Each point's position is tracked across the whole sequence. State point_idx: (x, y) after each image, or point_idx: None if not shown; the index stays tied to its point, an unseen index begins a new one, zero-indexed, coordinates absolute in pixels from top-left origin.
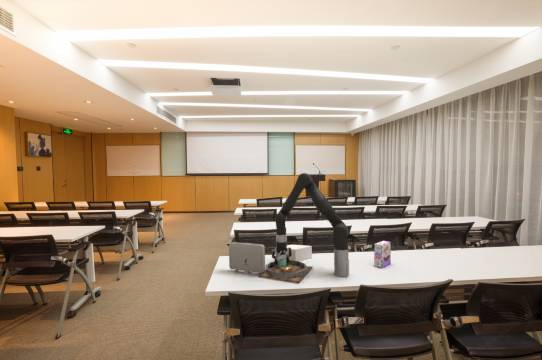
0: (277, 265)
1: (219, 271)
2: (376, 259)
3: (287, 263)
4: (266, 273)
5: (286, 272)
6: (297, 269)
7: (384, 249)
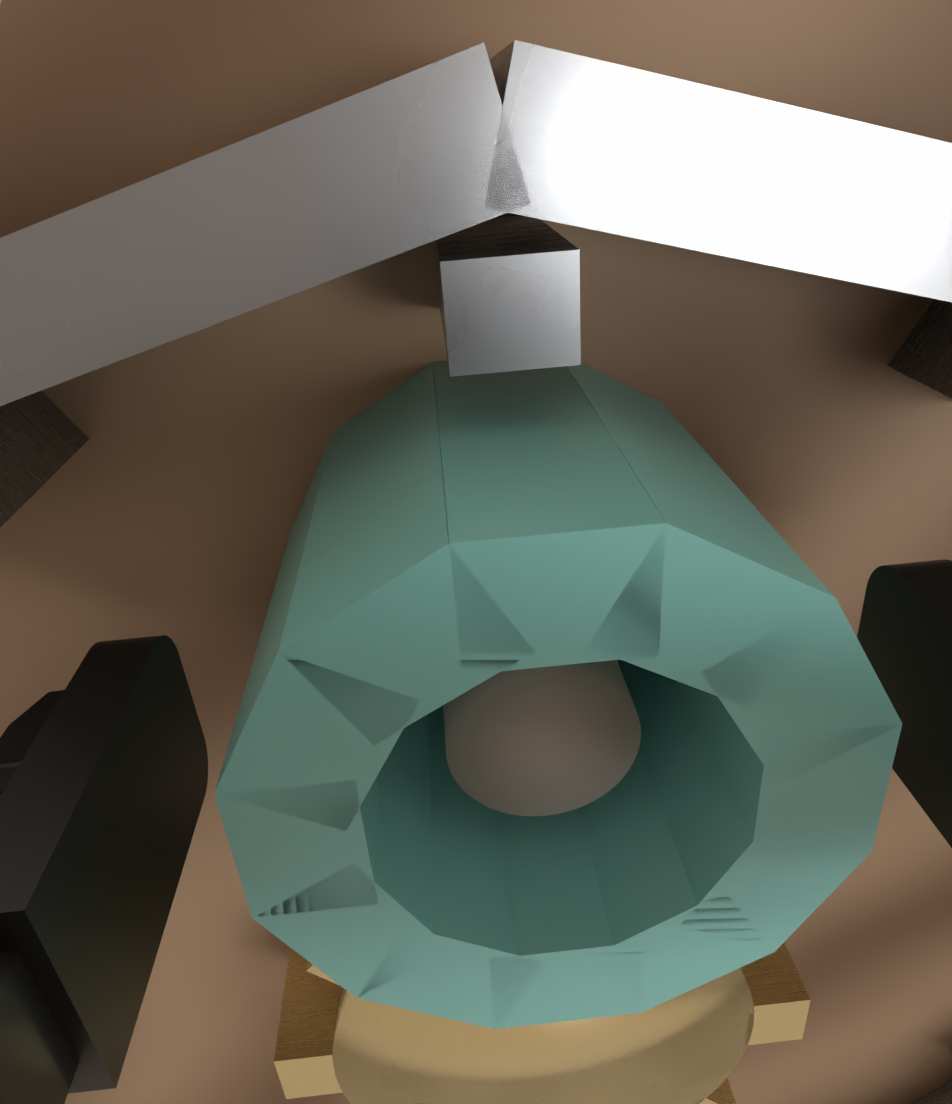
0: (331, 294)
1: None
2: None
3: (931, 385)
4: None
5: None
6: (913, 911)
7: None
